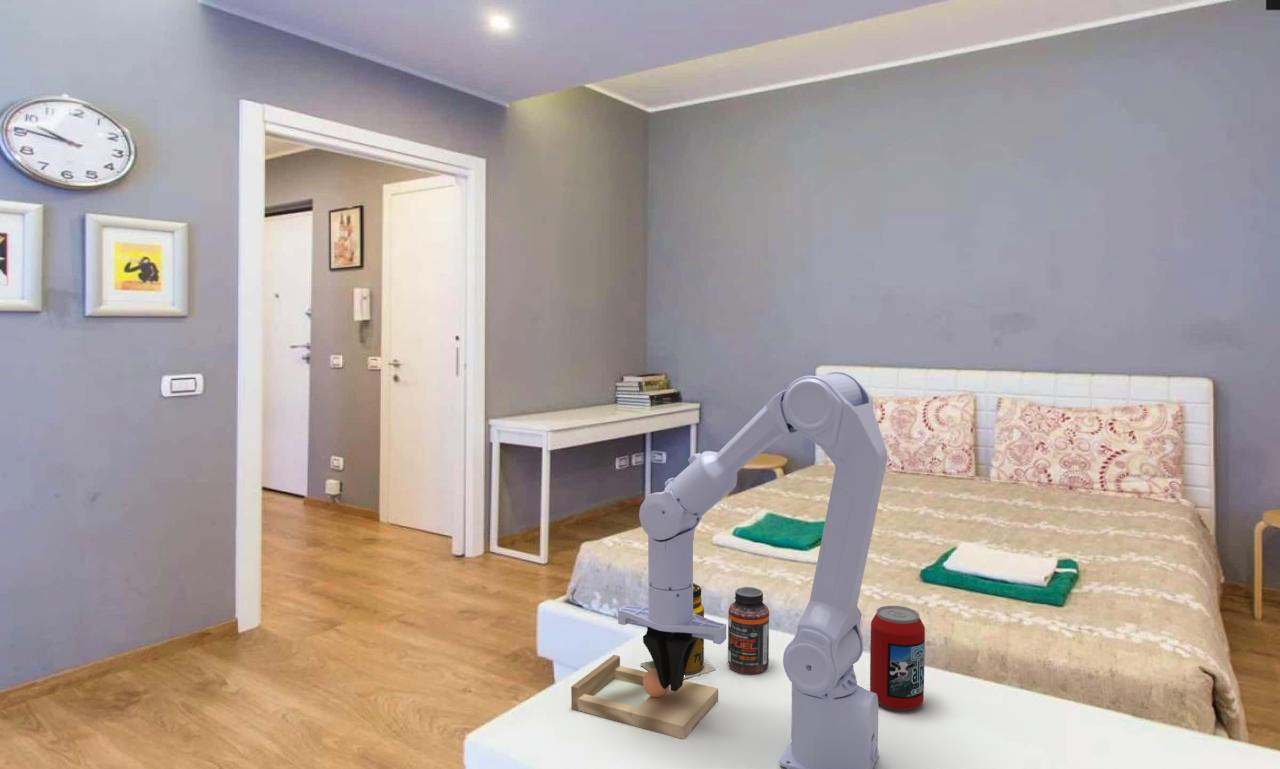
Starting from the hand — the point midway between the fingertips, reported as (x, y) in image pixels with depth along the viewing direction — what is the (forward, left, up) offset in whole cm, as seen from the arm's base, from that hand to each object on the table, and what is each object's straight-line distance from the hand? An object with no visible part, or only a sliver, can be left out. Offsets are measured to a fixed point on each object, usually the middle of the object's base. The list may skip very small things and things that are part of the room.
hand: (671, 686), depth 99 cm
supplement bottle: (-4, -17, -3) cm, 18 cm away
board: (+4, 0, -3) cm, 5 cm away
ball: (+2, 0, 0) cm, 2 cm away
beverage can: (-25, -16, -3) cm, 30 cm away
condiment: (+5, -12, -3) cm, 13 cm away
